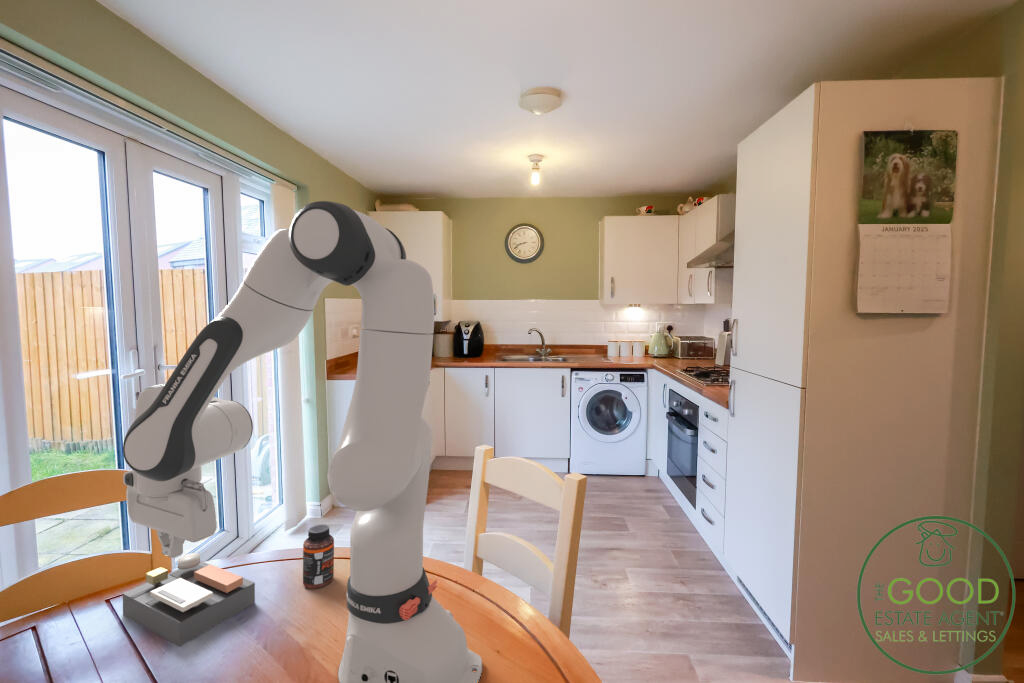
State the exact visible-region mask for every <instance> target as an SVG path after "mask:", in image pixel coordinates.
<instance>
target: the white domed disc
mask: <svg viewBox="0 0 1024 683" xmlns="http://www.w3.org/2000/svg"><path fill="white" fill-rule="evenodd" d="M200 561H201V554H200V553H198V552H191V553H187V554H184V555H181V556H179V558H177V570H178V569H182V570H183V569H189V568H193V567H195V566H197V565H198V564H199V563H200Z"/></svg>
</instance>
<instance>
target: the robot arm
mask: <svg viewBox="0 0 1024 683" xmlns="http://www.w3.org/2000/svg"><path fill="white" fill-rule="evenodd" d="M334 282H335V283H338V284H340V285H341V286H342V285H343V286H346V287H349V286H353V287H354V288H355V289H356V291H357V292H358V293H359V295H360V299H361V320H360V330H359V343H358V344H359V345H358V356H357V364H356V365H357V366H356V377H355V382H354V386H353V391H352V395H351V398H350V399H351V400H350V402H349V406H348V410H347V414H346V416H345V422H344V425H343V429H342V432H341V436H340V440H339V443H338V445H337V447H336V448H337V449H336V451H335V452H334V455H333V456H332V458H331V460H330V463H329V465H328V469H327V483H328V486H329V489H330V492H331V493H332V495H333V497H334V498H335V500H337V501H338V502H339V503H340V504H341V505H342V506H344V507H346V508H347V509H350V510H353V511H356V513H355V516H354V519H353V522H352V523H351V529H350V538H349V539H350V541H349V542H350V546H349V547H350V548H349V549H350V550H349V551H350V552H349V558H350V560H349V561H350V565H349V566H350V568H349V569H350V570H349V571H350V574H349V577H348V579H347V586H346V590H347V591H345V593H346V594H345V596H346V608H347V610H348V620H347V629H346V635H345V642H344V643H345V644H344V648H343V649H344V650H343V654H342V657H341V661H340V664H339V666H338V667H339V668H338V673H337V676H338V681H339V683H477V682H478V681H479V679H480V676H481V677H482V675H481V673H482V674H483V661H482V657H481V656H480V655H479V654H477V653H476V652H474V651H472V650H471V649H469V648H468V644H467V638H466V637H467V636H466V634H465V630H464V629H463V627H462V626H461V625H460V624H459V623H458V621H456V620H455V619H454V616H453V613H452V612H451V611H450V610H448V609H445V608H444V607H443V606H442V605H441V603H440V602H439V601H438V600H437V599H436V598H435V597H434V596H433V592H434V591H435V590H436V589H437V588H438V585H436V584H438V583H437V582H438V580H437V579H436V580H434V581H433V582H432V583H431V584H430V583H429V579H428V575H427V572H426V570H425V568H424V561H423V560H424V524H425V522H424V521H425V511H426V506H427V499H428V498H427V496H428V488H429V480H430V479H429V478H430V469H431V458H432V448H433V441H434V440H433V430H432V427H431V426H430V424H429V423H428V422H427V420H426V419H425V418H424V417H423V416H422V413H423V409H424V404H425V400H426V395H427V392H428V389H429V386H430V382H431V369H432V358H433V356H432V355H433V344H434V333H435V332H434V329H435V300H434V288H433V281H432V277H431V275H430V272H428V270H427V269H426V268H425V267H423V266H422V265H421V264H419V263H416V262H415V261H412V260H409V259H407V253H406V250H405V246H404V245H403V243H402V241H401V240H400V238H399V237H398V236H397V235H396V234H395V233H394V232H393V231H392V230H390V229H389V228H386V227H384V226H383V225H382V224H380V222H377V221H376V219H374V218H373V217H371V216H369V215H367V214H365V213H363V212H361V211H358V210H355V209H352V208H351V207H349V206H348V205H345V204H344V203H340V202H336V201H328V200H319V201H313V202H310V203H308V204H306V205H303V207H302V208H300V209H299V210H298V211H297V213H296V214H295V215H294V217H293V218H292V220H291V222H290V225H289V228H288V227H287V228H280V229H278V230H276V231H274V232H273V233H272V234H271V235H270V237H269V238H268V239H267V240H266V242H265V243H264V244H263V246H262V247H261V248H260V250H259V251H258V252H257V254H256V256H255V258H254V259H253V261H252V263H251V264H250V266H249V268H248V269H247V271H246V273H245V276H244V277H243V280H242V282H241V283H240V285H239V287H238V289H237V291H236V292H235V294H234V295H233V297H232V298H231V300H230V301H229V302H228V304H226V306H225V308H224V309H223V310H222V311H221V312H220V313H219V314H218V315H217V316H216V317H215V318H214V319H213V320H211V321H210V322H209V323H208V324H206V326H204V327H203V329H201V331H200V332H199V333H198V334H197V335H196V337H195V338H194V339H193V340H192V342H191V344H190V346H189V347H188V348H187V350H186V352H185V353H184V355H182V358H181V359H180V361H179V362H178V363H177V365H176V366H175V369H174V370H173V372H172V373H171V375H170V377H169V378H168V379H167V381H166V383H160V384H156V385H151V386H148V387H146V388H144V389H143V390H141V392H139V395H138V396H137V397H138V398H137V401H136V405H135V412H134V414H135V416H134V421H133V422H132V424H131V425H130V427H129V428H128V430H127V432H126V434H125V437H124V439H123V444H122V455H123V459H124V461H125V463H126V464H127V466H128V467H129V468H130V469H132V470H129V471H126V472H123V474H122V482H123V484H124V485H125V486H126V492H125V493H126V494H125V495H126V505H127V506H126V507H127V513H128V517H129V519H130V520H131V522H132V523H133V524H134V523H135V524H137V525H139V526H143V527H146V528H149V529H151V530H155V531H156V536H157V538H158V540H159V543H160V545H161V554H162V555H164V556H167V557H169V558H171V559H175V558H177V557H181V556H183V555H182V554H183V553H184V543H185V541H188V542H190V543H198V542H200V541H203V540H205V539H207V538H210V537H212V536H214V534H215V533H216V531H217V528H218V525H217V514H216V508H215V506H216V505H215V500H214V497H213V494H212V493H211V491H209V490H208V489H206V487H205V486H204V483H202V475H203V474H202V466H204V465H207V464H209V463H212V462H215V461H218V460H219V459H223V458H225V457H228V456H231V455H232V454H235V453H237V452H238V451H240V450H241V451H242V450H243V449H244V448H245V447H246V446H247V445H248V444H249V442H250V440H251V438H252V435H253V431H254V423H253V419H252V416H251V414H250V412H249V410H248V409H247V408H246V407H245V406H244V405H243V404H241V403H240V402H238V401H234V400H227V399H223V398H220V397H217V396H215V395H216V394H217V393H218V391H219V390H220V388H221V386H222V385H223V383H224V382H225V380H226V379H227V378H228V377H229V375H230V374H231V373H233V372H234V371H235V370H236V369H237V368H239V367H241V366H242V365H244V364H246V363H247V362H249V361H250V360H253V359H255V358H257V357H260V356H262V355H264V354H267V353H270V352H272V351H275V350H277V349H279V348H282V347H285V346H287V345H288V344H291V343H292V342H293V341H294V340H295V339H296V338H297V337H298V336H299V334H300V333H301V332H302V330H303V329H304V328H305V326H306V324H307V323H308V321H309V320H310V318H311V315H312V314H313V311H314V309H315V307H316V305H317V303H318V302H319V298H320V296H322V295H321V294H322V293H323V291H324V290H325V289H326V287H328V285H329V284H331V283H334ZM473 671H476V672H473ZM480 680H481V679H480ZM479 682H480V681H479Z"/></svg>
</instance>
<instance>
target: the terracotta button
mask: <svg viewBox="0 0 1024 683" xmlns="http://www.w3.org/2000/svg"><path fill="white" fill-rule="evenodd" d="M209 564H210V563H209ZM243 578H244V577H243V576H240V575H238V574H236V573H234V572H231V571H228V570H226V569H223V568H221V567H219V566H216V565H213V564H212V563H211V564H210V565H208V566H206V567H204V568H202V569H199V570H197V571H195V572H194V579H195V580H198V581H200V582H202V583H205V584H207V585H209V586H211V587H214V588H216V589H218V590H221V591H223V592H225V593H228V592H230V591H232V590H234V589H235V588H237V587H239V586H241V585H243Z"/></svg>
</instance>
